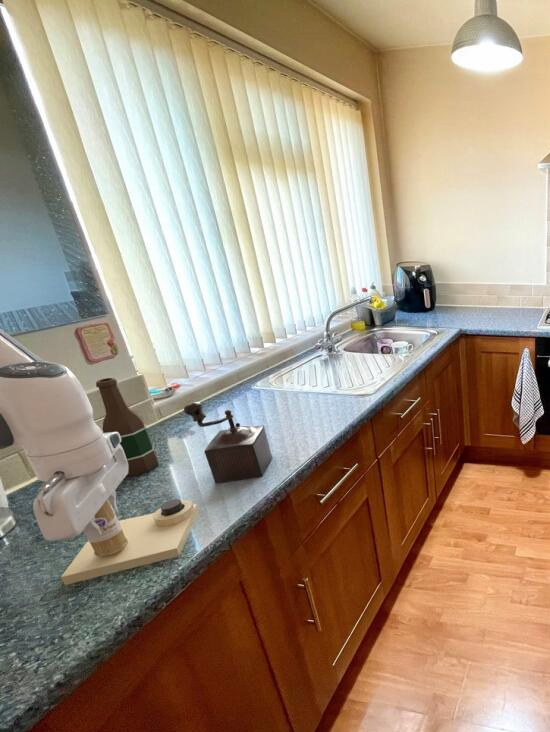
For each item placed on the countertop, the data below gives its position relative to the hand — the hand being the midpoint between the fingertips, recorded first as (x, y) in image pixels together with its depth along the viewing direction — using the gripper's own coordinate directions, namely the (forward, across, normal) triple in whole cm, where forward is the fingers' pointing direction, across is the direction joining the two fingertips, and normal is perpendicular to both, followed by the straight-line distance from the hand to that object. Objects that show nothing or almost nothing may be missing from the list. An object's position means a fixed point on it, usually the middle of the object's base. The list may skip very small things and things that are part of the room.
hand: (104, 525), depth 71 cm
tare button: (+4, +7, -7) cm, 11 cm away
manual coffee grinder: (+8, +25, -14) cm, 30 cm away
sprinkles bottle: (+5, 0, 0) cm, 5 cm away
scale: (+8, +3, -2) cm, 8 cm away
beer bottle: (+8, +36, +8) cm, 38 cm away
